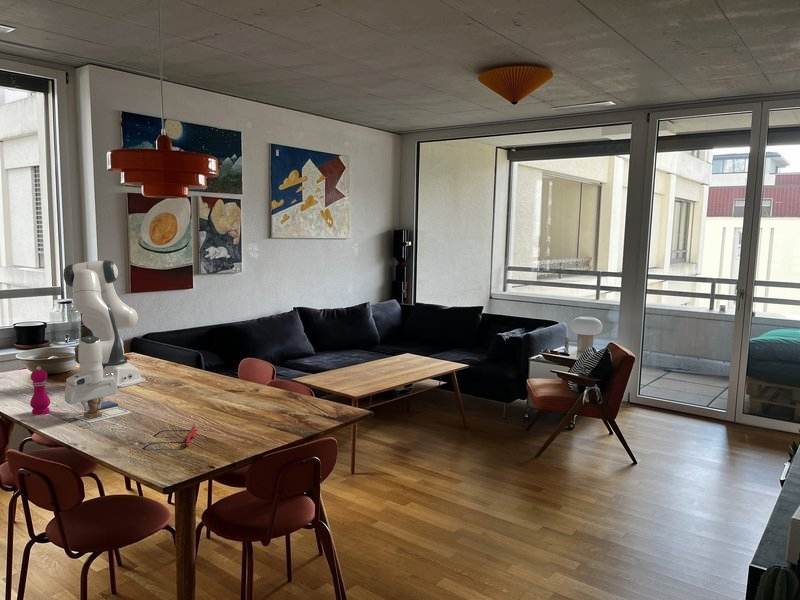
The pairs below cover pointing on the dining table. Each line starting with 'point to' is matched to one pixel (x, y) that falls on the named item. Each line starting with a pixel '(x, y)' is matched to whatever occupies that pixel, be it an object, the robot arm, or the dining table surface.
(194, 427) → the glasses
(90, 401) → the stamp
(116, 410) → the print card
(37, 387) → the pepper mill
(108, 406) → the ink pad
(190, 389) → the dining table surface
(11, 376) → the dining table surface
